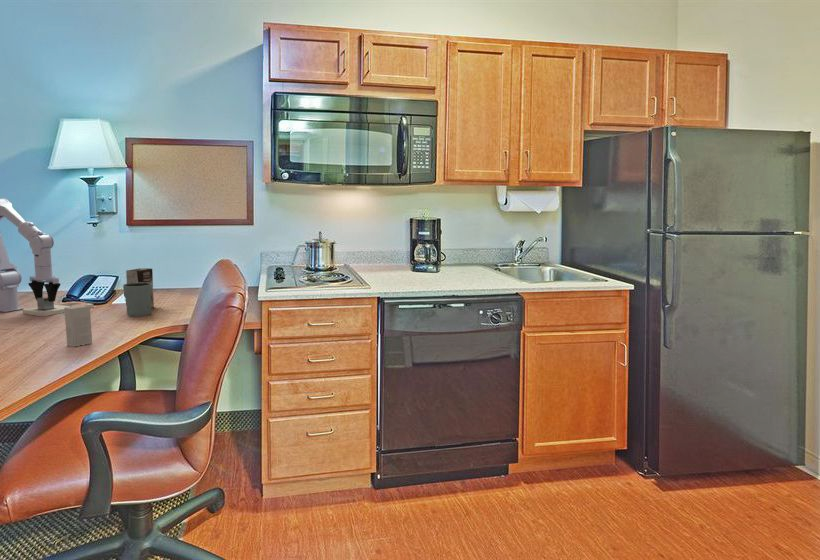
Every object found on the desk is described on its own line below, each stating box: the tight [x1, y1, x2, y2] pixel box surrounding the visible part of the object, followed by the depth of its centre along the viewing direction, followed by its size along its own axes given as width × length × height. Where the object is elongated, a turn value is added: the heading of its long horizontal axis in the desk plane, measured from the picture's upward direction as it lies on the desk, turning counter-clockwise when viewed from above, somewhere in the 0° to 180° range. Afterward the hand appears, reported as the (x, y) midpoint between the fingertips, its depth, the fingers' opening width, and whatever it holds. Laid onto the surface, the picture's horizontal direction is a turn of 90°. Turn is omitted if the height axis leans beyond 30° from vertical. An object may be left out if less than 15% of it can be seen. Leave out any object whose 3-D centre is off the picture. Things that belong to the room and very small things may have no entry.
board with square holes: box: [21, 301, 94, 317], centre depth 259 cm, size 12×22×2 cm, turn 154°
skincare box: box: [64, 305, 93, 348], centre depth 202 cm, size 6×4×12 cm
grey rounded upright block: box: [122, 282, 152, 318], centre depth 252 cm, size 10×10×12 cm
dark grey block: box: [36, 296, 55, 311], centre depth 254 cm, size 4×4×6 cm
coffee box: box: [125, 267, 155, 309], centre depth 264 cm, size 9×6×16 cm
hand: (45, 300), depth 254 cm, fingers open, 7 cm apart
